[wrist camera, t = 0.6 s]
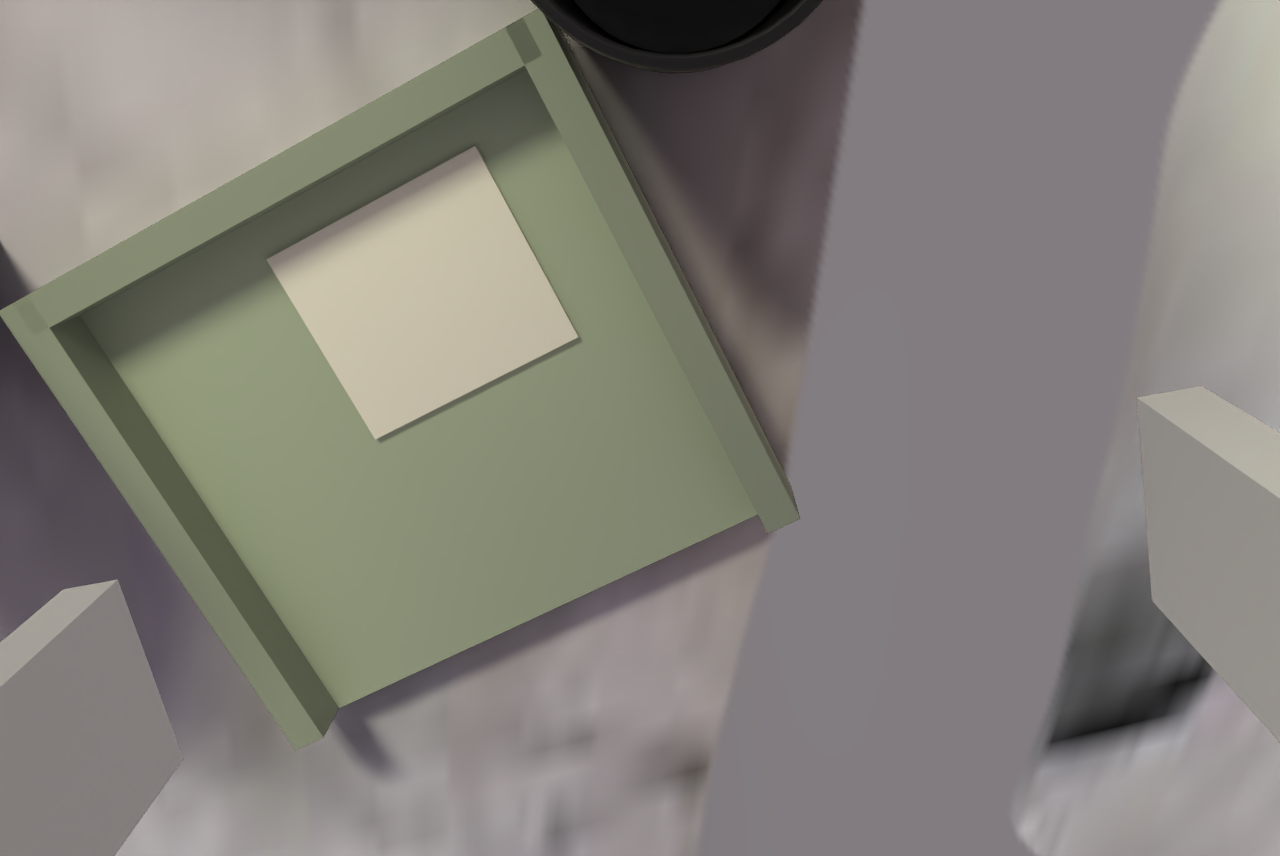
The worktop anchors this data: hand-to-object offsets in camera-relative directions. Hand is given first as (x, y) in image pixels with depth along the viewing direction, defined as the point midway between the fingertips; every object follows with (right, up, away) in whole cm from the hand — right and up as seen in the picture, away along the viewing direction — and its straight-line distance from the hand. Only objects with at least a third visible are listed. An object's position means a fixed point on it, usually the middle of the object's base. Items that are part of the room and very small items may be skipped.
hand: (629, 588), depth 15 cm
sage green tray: (-7, +3, +26) cm, 27 cm away
